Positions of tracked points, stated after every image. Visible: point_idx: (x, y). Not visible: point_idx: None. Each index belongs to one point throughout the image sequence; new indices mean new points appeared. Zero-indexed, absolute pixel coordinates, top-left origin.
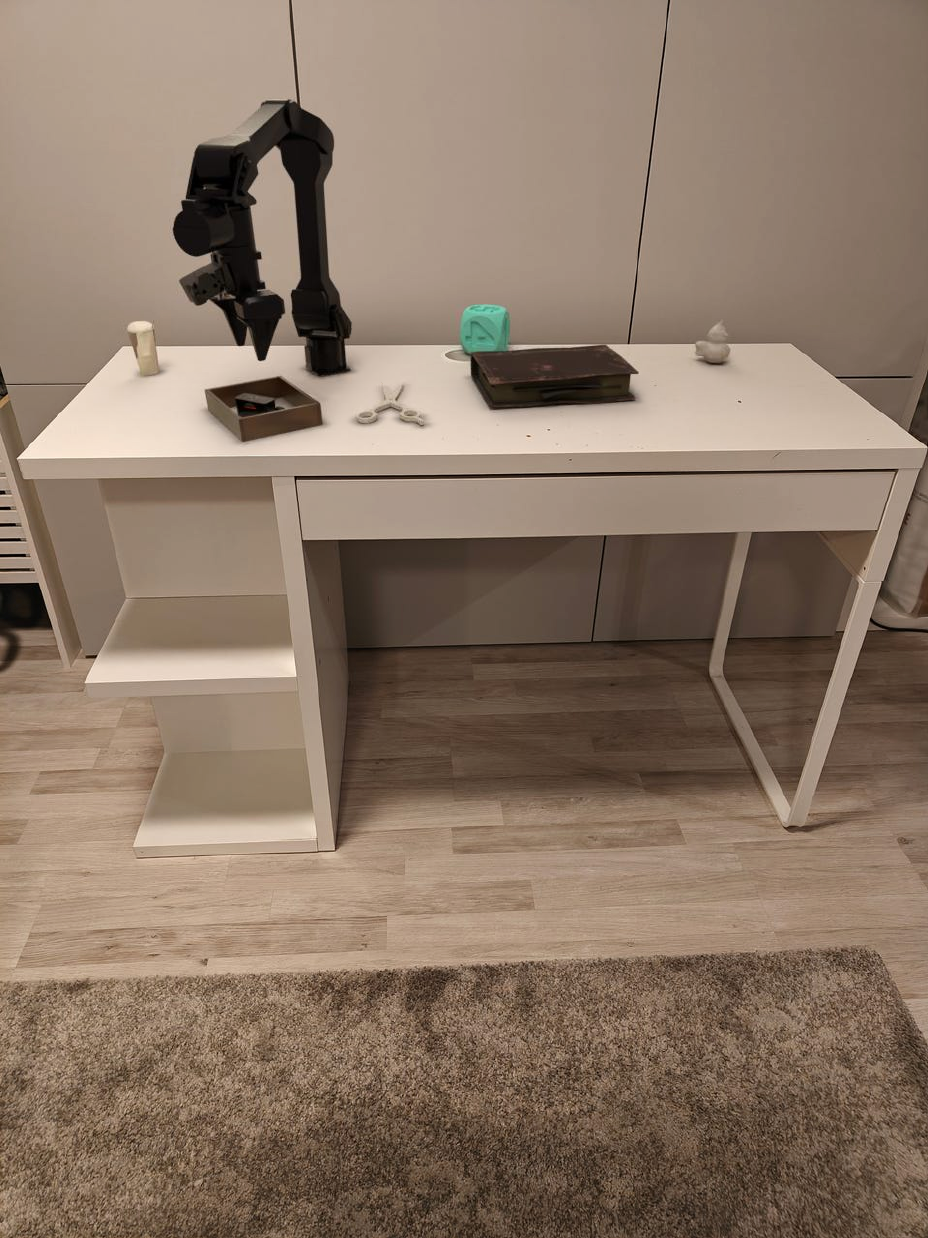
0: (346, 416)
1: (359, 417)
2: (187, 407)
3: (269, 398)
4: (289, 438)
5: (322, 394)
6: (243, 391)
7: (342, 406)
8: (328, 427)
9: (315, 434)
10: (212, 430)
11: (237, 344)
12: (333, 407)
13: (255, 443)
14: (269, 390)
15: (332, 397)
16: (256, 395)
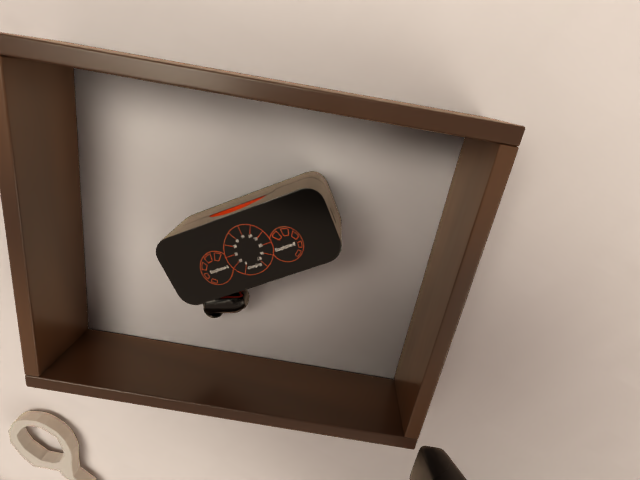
0: (108, 413)
1: (31, 423)
2: (598, 63)
3: (205, 291)
4: None
5: (324, 464)
6: (438, 285)
7: (192, 447)
8: None
9: (8, 277)
10: (254, 6)
11: (424, 452)
12: (200, 428)
13: None
14: (408, 367)
15: (280, 467)
16: (276, 273)
